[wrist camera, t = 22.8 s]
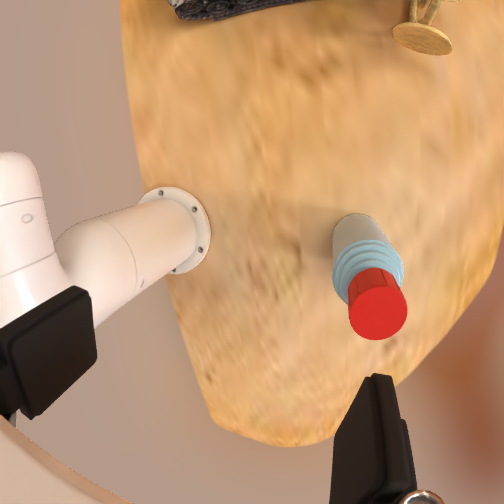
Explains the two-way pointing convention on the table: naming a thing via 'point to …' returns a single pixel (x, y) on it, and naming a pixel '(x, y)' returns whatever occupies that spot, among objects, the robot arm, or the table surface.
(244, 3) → the tank
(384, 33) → the table surface
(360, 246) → the bottle
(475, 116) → the table surface
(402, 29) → the wall sconce
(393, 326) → the cap
